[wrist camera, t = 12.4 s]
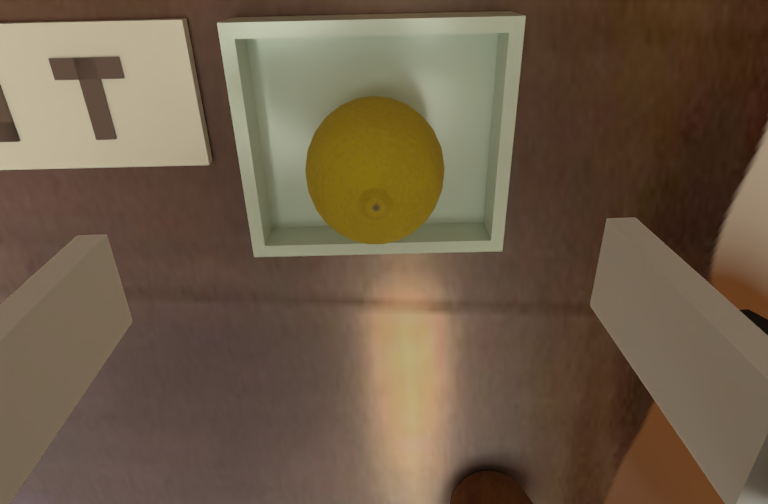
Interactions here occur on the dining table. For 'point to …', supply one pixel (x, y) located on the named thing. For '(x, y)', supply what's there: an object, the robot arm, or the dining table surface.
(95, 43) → the tile
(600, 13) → the dining table surface
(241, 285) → the dining table surface
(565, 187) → the dining table surface
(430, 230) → the dish
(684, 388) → the robot arm
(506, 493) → the wooden figurine
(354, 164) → the lemon
